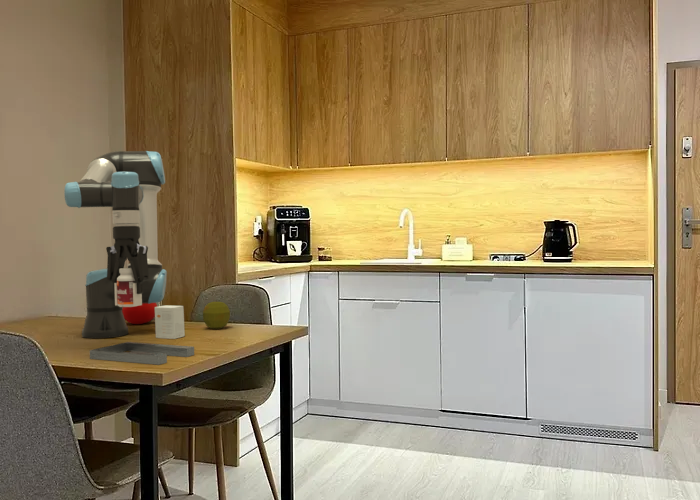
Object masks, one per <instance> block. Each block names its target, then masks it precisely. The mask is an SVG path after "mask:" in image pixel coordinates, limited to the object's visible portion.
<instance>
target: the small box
mask: <svg viewBox="0 0 700 500" xmlns="http://www.w3.org/2000/svg"><path fill="white" fill-rule="evenodd" d="M184 311H185V310H184V305H170V304H169V305H159V306H157V307H155V317H154V324H155V325H154V327H155V338H156V339H167V340H169V339H170V340H175V339H180V338H182V337H183V338H184V337H185V314H184V313H185V312H184Z"/></svg>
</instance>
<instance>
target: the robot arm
mask: <svg viewBox="0 0 700 500" xmlns="http://www.w3.org/2000/svg"><path fill="white" fill-rule="evenodd" d="M86 170H87V171H86V173H85V174H84V175H83V176H82V177H81V179H80V181H71V182H67V183H65V185H64V189H63V190H64V192H63V193H64V201H65V205H66V206H67V207H69V208H78V209H80V208H112V209H111V211H112V225H114V226H113V227H112V239H114V243H113V245H111V246H106V253H107V254H106V255H107V260H106V261H107V268H100V269H95V270H91V271H89V272H87V274H86V276H85V284H84V285H85V294H86V295H85V297H86V299H85V300H86V315H85V320H84V325H83V328H82V329H81V336H82V338H86V339H108V338H117V337H122V336H123V337H124V336H127V335H129V326H128V325H127V323H126V322H127V321H126V320H125V318H124V315H123V312H122V309H123V307H119V306H118V300H117V278H118V277H119V276H120V273H119V269H120V268H125V264H126V261H128V262H129V263H128V264H127V268H131V269H132V272H133V276H134V279H135V281H134V283H133V306H139V305H142V304H143V303H148V304H150V303H156V304H157V303H161V302H162V301H163V300H164V297H165V294H166V287H167V275H168V272H167V270H166V269H164V268H163V264H162V263H161V262H160V261H159V259H158V258H159V256H158V255H159V254H158V250H159V249H158V204H157V203H158V201H157V200H158V198H157V197H158V196H157V195H158V193H159V192H160V191H161V190H162V185H164V184H166V177H165V176H166V175H165V170H164V164H163V159H162V155H161V154H160V153H159V152H158V151H151V150H150V151H148V150H139V151H137V150H132V151H130V150H129V151H127V150H125V151H123V150H118V151H117V150H115V151H110V152H106V153H104V154H102V155H99V156H97V157H96V158H93V160H92V161H90V163H89V164H88V166H87V169H86Z"/></svg>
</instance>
